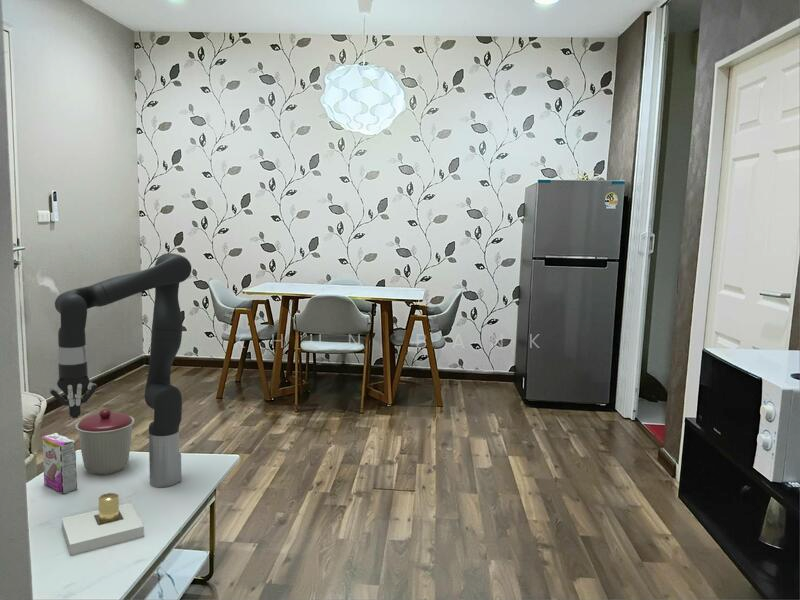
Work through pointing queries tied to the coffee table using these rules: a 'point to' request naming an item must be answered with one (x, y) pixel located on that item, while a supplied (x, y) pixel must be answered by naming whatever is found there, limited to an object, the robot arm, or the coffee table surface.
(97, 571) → the coffee table surface
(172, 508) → the coffee table surface
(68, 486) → the candy bar box
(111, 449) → the canister
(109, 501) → the gold metal peg
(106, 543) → the jig
